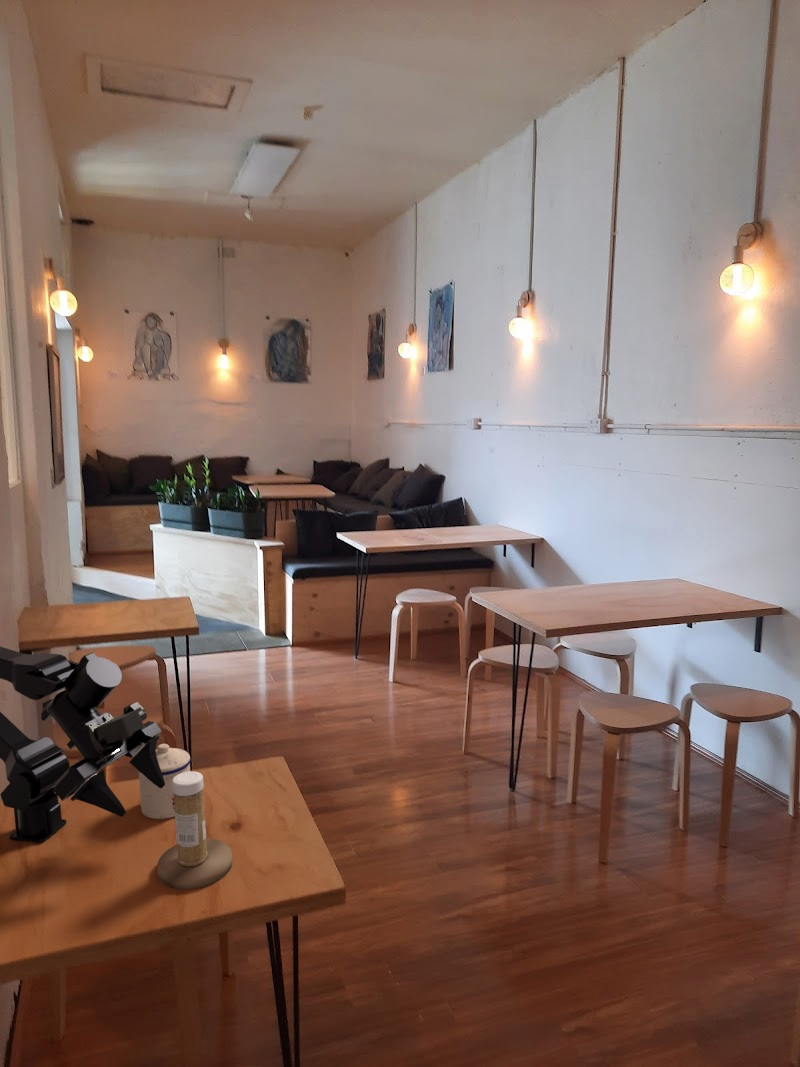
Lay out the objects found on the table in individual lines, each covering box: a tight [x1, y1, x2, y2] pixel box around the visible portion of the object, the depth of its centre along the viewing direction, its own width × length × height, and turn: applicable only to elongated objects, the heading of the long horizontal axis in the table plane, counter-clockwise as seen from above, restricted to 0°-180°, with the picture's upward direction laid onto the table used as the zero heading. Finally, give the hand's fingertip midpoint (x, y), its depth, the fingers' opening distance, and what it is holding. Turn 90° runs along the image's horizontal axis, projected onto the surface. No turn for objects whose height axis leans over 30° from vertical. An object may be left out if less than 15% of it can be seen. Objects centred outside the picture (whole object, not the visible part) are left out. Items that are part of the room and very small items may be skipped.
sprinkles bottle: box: [172, 770, 208, 866], centre depth 115 cm, size 5×5×13 cm
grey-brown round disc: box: [157, 837, 233, 890], centre depth 116 cm, size 11×11×2 cm
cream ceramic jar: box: [138, 743, 192, 820], centre depth 135 cm, size 12×9×12 cm
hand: (144, 800), depth 117 cm, fingers open, 9 cm apart
